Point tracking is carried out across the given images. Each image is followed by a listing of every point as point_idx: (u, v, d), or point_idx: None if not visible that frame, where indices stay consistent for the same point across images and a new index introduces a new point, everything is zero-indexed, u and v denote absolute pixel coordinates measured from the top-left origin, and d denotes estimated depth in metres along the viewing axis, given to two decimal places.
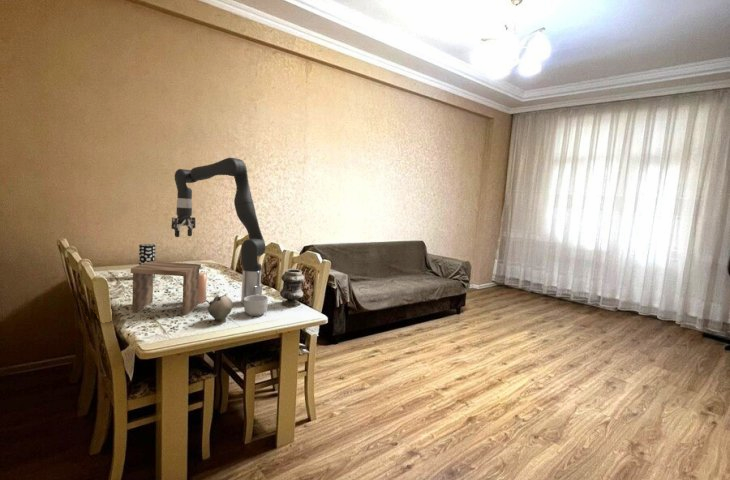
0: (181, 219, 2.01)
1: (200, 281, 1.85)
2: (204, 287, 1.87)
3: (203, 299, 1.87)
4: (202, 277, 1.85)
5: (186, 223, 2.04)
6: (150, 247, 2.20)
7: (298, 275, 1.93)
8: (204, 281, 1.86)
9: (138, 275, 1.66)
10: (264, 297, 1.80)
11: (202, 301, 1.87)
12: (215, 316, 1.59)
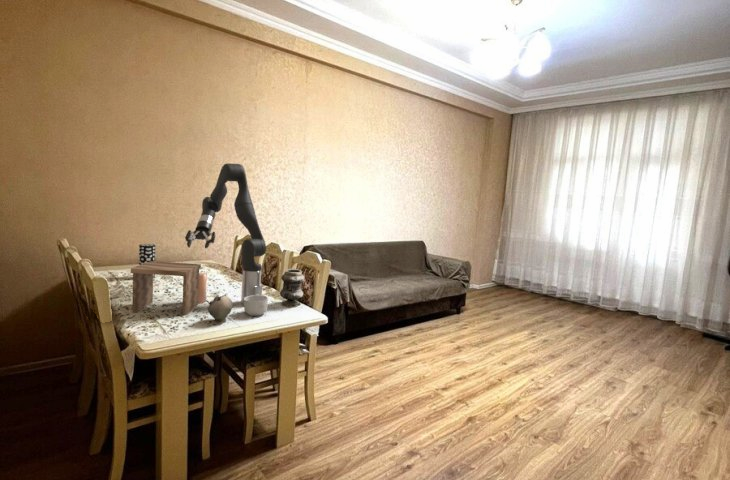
0: (196, 231, 2.01)
1: (200, 281, 1.85)
2: (204, 287, 1.87)
3: (203, 299, 1.87)
4: (202, 277, 1.85)
5: (201, 235, 2.00)
6: (150, 247, 2.20)
7: (298, 275, 1.93)
8: (204, 281, 1.86)
9: (138, 275, 1.66)
10: (264, 297, 1.80)
11: (202, 301, 1.87)
12: (215, 316, 1.59)
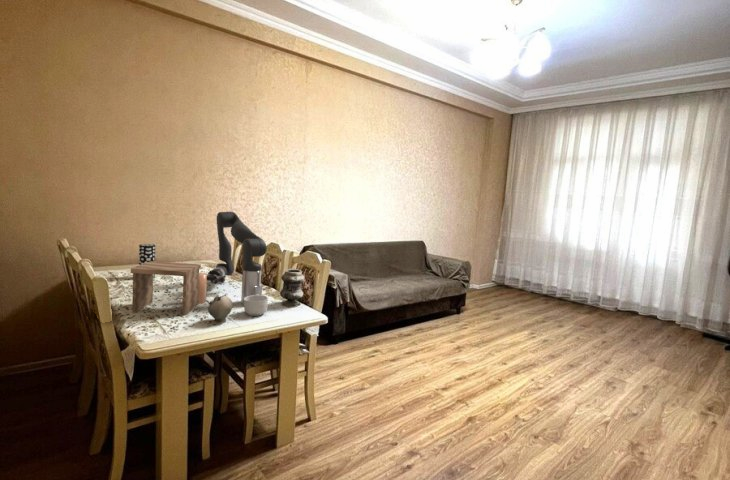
0: (207, 275, 2.06)
1: (200, 281, 1.85)
2: (204, 287, 1.87)
3: (203, 299, 1.87)
4: (202, 277, 1.85)
5: (212, 276, 2.04)
6: (150, 247, 2.20)
7: (298, 275, 1.93)
8: (204, 281, 1.86)
9: (138, 275, 1.66)
10: (264, 297, 1.80)
11: (202, 301, 1.87)
12: (215, 316, 1.59)
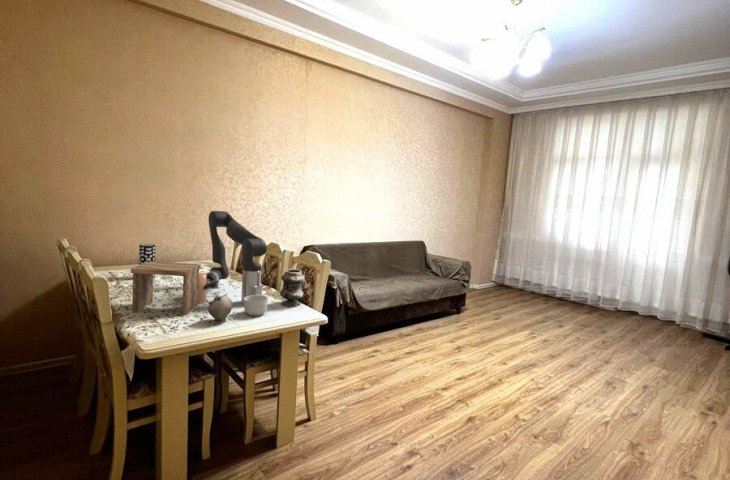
0: None
1: (200, 281, 1.85)
2: None
3: (203, 299, 1.87)
4: (202, 277, 1.85)
5: None
6: (150, 247, 2.20)
7: (298, 275, 1.93)
8: (204, 281, 1.86)
9: (138, 275, 1.66)
10: (264, 297, 1.80)
11: (202, 301, 1.87)
12: (215, 316, 1.59)
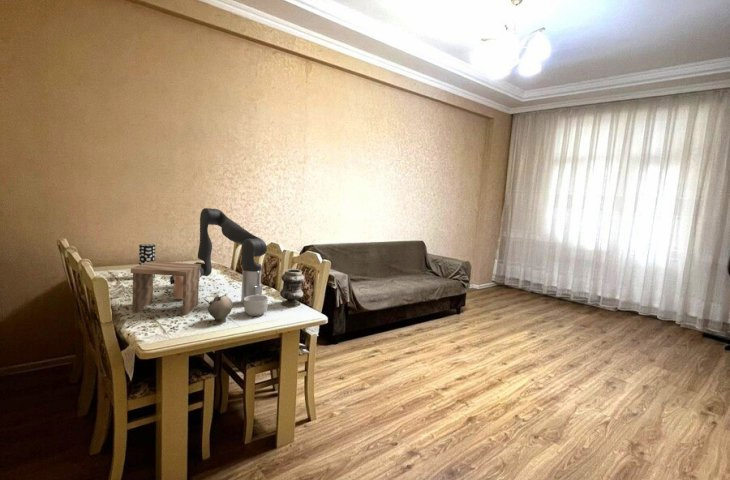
0: None
1: (180, 277, 1.85)
2: None
3: None
4: None
5: None
6: (150, 247, 2.20)
7: (298, 275, 1.93)
8: None
9: (138, 275, 1.66)
10: (264, 297, 1.80)
11: (182, 297, 1.87)
12: (215, 316, 1.59)
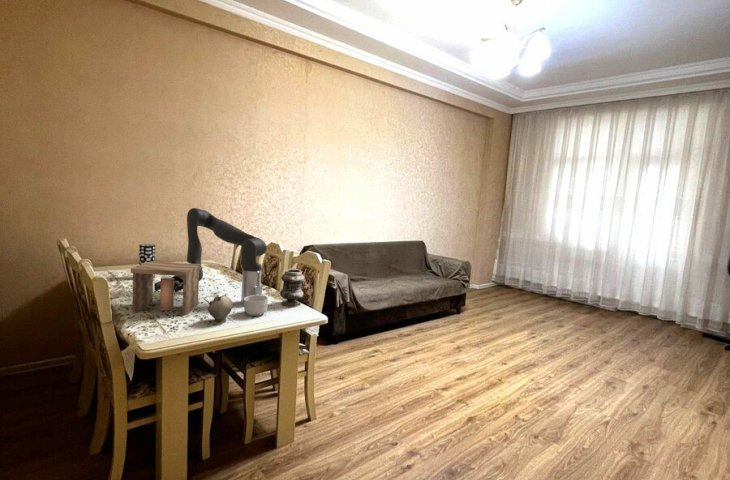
0: None
1: (166, 286, 1.71)
2: (171, 293, 1.73)
3: (170, 306, 1.73)
4: (169, 283, 1.71)
5: None
6: (150, 247, 2.20)
7: (298, 275, 1.93)
8: (171, 286, 1.72)
9: (138, 275, 1.66)
10: (264, 297, 1.80)
11: (169, 308, 1.73)
12: (215, 316, 1.59)
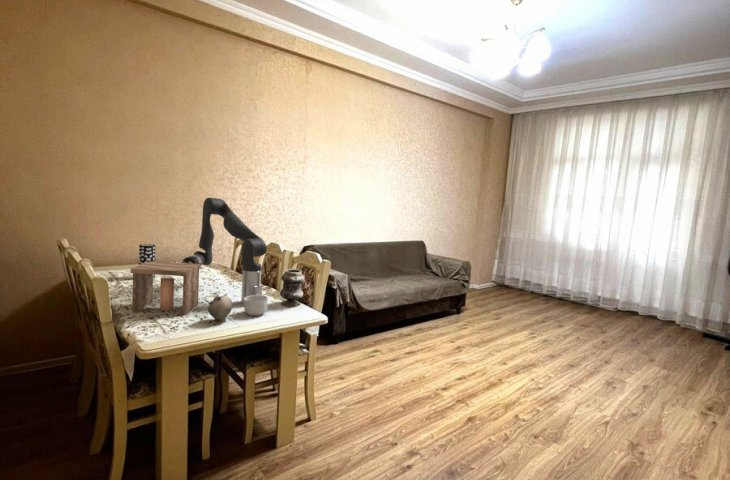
0: (181, 262, 1.94)
1: (166, 286, 1.71)
2: (171, 293, 1.73)
3: (170, 306, 1.73)
4: (169, 283, 1.71)
5: None
6: (150, 247, 2.20)
7: (298, 275, 1.93)
8: (171, 286, 1.72)
9: (138, 275, 1.66)
10: (264, 297, 1.80)
11: (169, 308, 1.73)
12: (215, 316, 1.59)
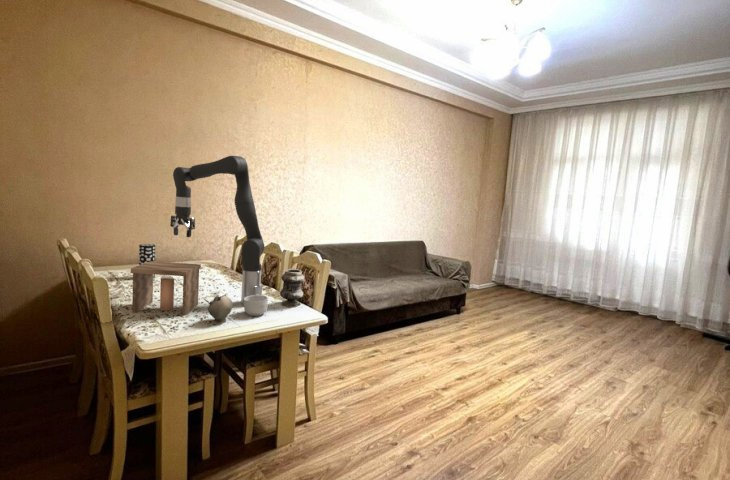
0: (176, 217, 1.99)
1: (166, 286, 1.71)
2: (171, 293, 1.73)
3: (170, 306, 1.73)
4: (169, 283, 1.71)
5: (182, 222, 1.98)
6: (150, 247, 2.20)
7: (298, 275, 1.93)
8: (171, 286, 1.72)
9: (138, 275, 1.66)
10: (264, 297, 1.80)
11: (169, 308, 1.73)
12: (215, 316, 1.59)
